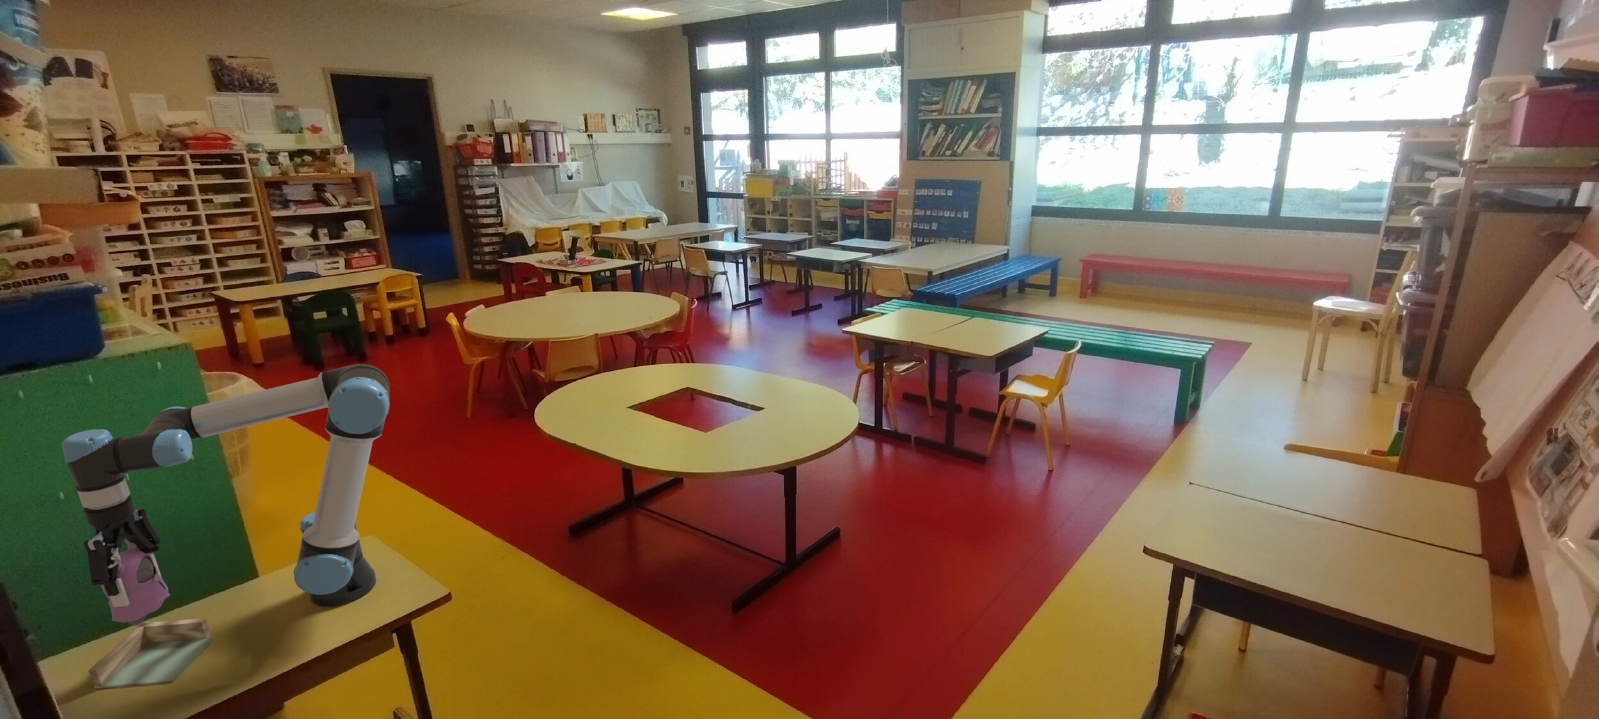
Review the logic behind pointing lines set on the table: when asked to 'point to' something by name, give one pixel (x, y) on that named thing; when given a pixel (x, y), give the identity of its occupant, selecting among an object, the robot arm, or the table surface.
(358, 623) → the table surface
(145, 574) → the toy character
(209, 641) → the tray
